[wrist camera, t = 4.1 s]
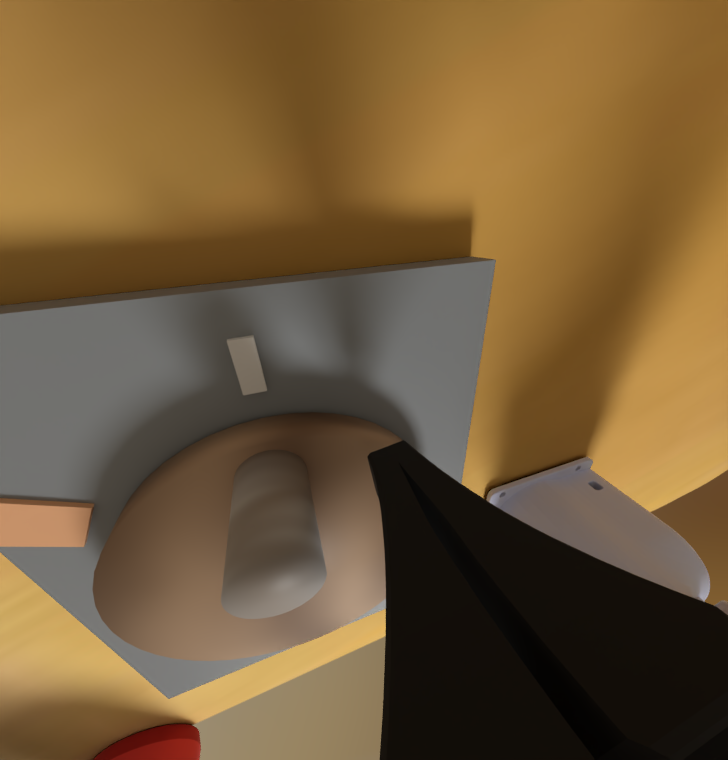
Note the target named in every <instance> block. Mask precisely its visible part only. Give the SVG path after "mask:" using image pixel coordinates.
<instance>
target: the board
mask: <svg viewBox="0 0 728 760" xmlns="http://www.w3.org/2000/svg"><path fill="white" fill-rule="evenodd" d="M495 262H496V260H494V259H486V258H478V257H463V258H453V259H443V260H434V261H424V262H414V263H405V264H395V265H386V266H376V267H366V268H357V269H347V270H337V271H328V272H318V273H309V274H299V275H289V276H280V277H270V278H260V279H251V280H241V281H232V282H222V283H212V284H203V285H193V286H183V287H174V288H164V289H155V290H145V291H135V292H126V293H116V294H106V295H97V296H87V297H78V298H68V299H58V300H49V301H39V302H29V303H20V304H10V305H1V306H0V552H1V553H2V554H3V555H4V556H5V557H6V558H7V559H9V560H10V561H11V562H12V563H13V564H14V565H15V566H17V567H18V568H19V569H20V570H21V571H22V572H24V573H25V574H26V575H27V576H28V577H29V578H30V579H32V580H33V581H34V582H35V583H36V584H37V585H38V586H40V587H41V588H42V589H43V590H44V591H45V592H46V593H48V594H49V595H50V596H51V597H52V598H53V599H55V600H56V601H57V602H58V603H59V604H60V605H61V606H63V607H64V608H65V609H66V610H67V611H68V612H69V613H71V614H72V615H73V616H74V617H75V618H76V619H77V620H79V621H80V622H81V623H82V624H83V625H84V626H86V627H87V628H88V629H89V630H90V631H91V632H92V633H94V634H95V635H96V636H97V637H98V638H99V639H100V640H102V641H103V642H104V643H105V644H106V645H107V646H108V647H110V648H111V649H112V650H113V651H114V652H115V653H117V654H118V655H119V656H120V657H121V658H122V659H123V660H125V661H126V662H127V663H128V664H129V665H130V666H131V667H133V668H134V669H135V670H136V671H137V672H138V673H140V674H141V675H142V676H143V677H144V678H145V679H146V680H148V681H149V682H150V683H151V684H152V685H153V686H154V687H156V688H157V689H158V690H159V691H160V692H161V693H162V694H164V695H165V696H166V697H167V698H168V699H170V698H172V697H175V696H177V695H179V694H182V693H184V692H187V691H189V690H191V689H194V688H196V687H199V686H201V685H203V684H206V683H208V682H211V681H213V680H215V679H218V678H220V677H223V676H225V675H227V674H230V673H232V672H235V671H237V670H239V669H242V668H244V667H247V666H249V665H251V664H254V663H256V662H259V661H261V660H263V659H266V658H268V657H271V656H273V655H275V654H278V653H280V652H283V651H285V650H287V649H290V648H287V649H284V650H280V651H276V652H273V653H269V654H264V655H259V656H254V657H248V658H240V659H233V660H219V661H192V660H182V659H174V658H169V657H164V656H159V655H155V654H152V653H149V652H146V651H143V650H140V649H138V648H136V647H134V646H132V645H130V644H129V643H127V642H125V641H123V640H122V639H121V638H119V637H118V636H117V635H116V634H114V633H113V632H112V631H111V630H110V629H109V628H108V626H107V625H106V624H105V623H104V622H103V621H102V619H101V617H100V615H99V613H98V611H97V609H96V607H95V602H94V596H93V591H92V589H93V578H94V571H95V568H96V565H97V562H98V560H99V557H100V554H101V552H102V550H103V548H104V546H105V544H106V542H107V540H108V538H109V536H110V534H111V532H112V529H113V527H114V525H115V523H116V521H117V519H118V517H119V515H120V513H121V512H122V510H123V508H124V507H125V505H126V503H127V502H128V500H129V498H130V497H131V495H132V494H133V493H134V492H135V491H136V489H137V488H138V487H139V486H140V485H141V483H142V482H143V481H144V480H145V479H146V478H147V477H148V476H149V475H150V474H151V473H153V472H154V471H155V470H156V469H157V468H158V467H159V466H161V465H162V464H163V463H164V462H165V461H167V460H168V459H170V458H171V457H173V456H174V455H176V454H177V453H179V452H180V451H182V450H183V449H185V448H186V447H188V446H190V445H192V444H194V443H196V442H198V441H200V440H201V439H203V438H205V437H207V436H209V435H211V434H214V433H217V432H219V431H222V430H224V429H227V428H229V427H232V426H235V425H238V424H241V423H245V422H249V421H252V420H256V419H260V418H264V417H270V416H277V415H283V414H291V413H308V412H317V413H335V414H341V415H347V416H352V417H357V418H360V419H363V420H366V421H370V422H373V423H375V424H377V425H379V426H381V427H383V428H386V429H388V430H390V431H391V432H392V433H394V434H395V435H397V436H398V437H399V438H401V439H402V440H404V441H406V442H407V443H409V444H410V445H411V446H412V447H413V448H414V449H416V450H417V451H418V452H419V453H420V454H422V455H423V456H424V457H425V458H427V459H428V460H429V461H430V462H432V463H433V464H434V465H436V466H437V467H438V468H440V469H441V470H442V471H444V472H445V473H446V474H448V475H449V476H451V477H452V478H453V479H455V480H456V481H458V482H459V483H460V484H461V482H462V475H463V469H464V462H465V456H466V449H467V443H468V437H469V430H470V424H471V417H472V411H473V404H474V398H475V391H476V385H477V378H478V372H479V365H480V359H481V352H482V346H483V339H484V333H485V327H486V320H487V314H488V307H489V301H490V294H491V288H492V281H493V275H494V268H495ZM383 609H386V599H385V600H383V601H382V602H381V603H379V604H378V605H377V606H375V607H374V608H372V609H371V610H369V611H368V612H366V613H365V614H363V615H362V616H360V617H358V618H357V619H355V620H353V621H352V622H355V621H357V620H359V619H362V618H364V617H367V616H369V615H371V614H374V613H376V612H379V611H381V610H383ZM352 622H350V623H352ZM350 623H348V624H350ZM346 625H347V624H346ZM344 626H345V625H344ZM342 627H343V626H342ZM294 647H295V646H294ZM291 648H292V647H291Z"/></svg>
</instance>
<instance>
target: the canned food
mask: <svg viewBox="0 0 728 760" xmlns="http://www.w3.org/2000/svg"><path fill="white" fill-rule="evenodd" d="M199 736H200V735H199V731H198V729H197V728H196V727H194V726H192V725H189V724H169V725H163V726H158V727H154V728H151V729H147V730H144V731H141V732H138V733H136V734H133V735H131V736H128V737H126V738H124V739H122V740H120V741H118V742H116V743H114V744H113V745H111V746H109V747H108V748H106V749H105V750H103V751H102V752H101V753H99V754H98V755H97V756H96V757H95V758H94V759H93V760H199V758H200V750H201V745H200V737H199Z"/></svg>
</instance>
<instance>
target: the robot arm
mask: <svg viewBox="0 0 728 760" xmlns="http://www.w3.org/2000/svg"><path fill="white" fill-rule="evenodd" d="M367 458H368V462H369V466H370V470H371V474H372V478H373V482H374V486H375V490H376V493H377V496H378V498H379V502H380V509H381V516H382V527H383V538H384V553H385V577H386V646H385V673H384V675H385V676H384V700H383V720H382V734H381V749H380V760H728V602H727V601H724V600H723V601H720V602H719V603H717V604H716V605H711V604H708V603H706V602H704V601H705V599H706V598H707V596H708V594H709V591H710V579H709V575H708V571H707V569H706V567H705V565H704V564H703V562H702V560H701V559H700V558H699V556H698V555H697V553H696V552H695V551H694V549H693V548H692V547H691V546H690V545H689V544H688V543H687V542H686V540H685V539H684V538H683V537H681V536H680V535H679V534H678V533H677V532H676V531H675V530H673V529H672V528H671V527H669V526H668V525H667V524H665V523H664V522H662V521H661V520H660V519H658V518H657V517H656V516H654V515H653V514H652V513H650V512H649V511H647V510H646V509H645V508H643V507H642V506H641V505H639V504H638V503H636V502H635V501H634V500H632V499H631V498H629V497H628V496H627V495H625V494H624V493H623V492H621V491H620V490H618V489H617V488H616V487H614V486H613V485H612V484H610V483H609V482H607V481H606V480H605V479H603V478H602V477H601V476H599V475H598V474H596V473H595V472H594V471H592V470H591V469H590V468H591V465H592V463H593V461H592V460H591V459H590V458H589V457H584V458H581V459H578V460H575V461H573V462H570V463H567V464H564V465H561V466H558V467H555V468H552V469H549V470H546V471H543V472H540V473H537V474H534V475H531V476H528V477H526V478H523V479H520V480H517V481H514V482H511V483H508V484H505V485H502V486H499V487H496V488H493V489H492V490H490V491H489V492H488V495H487V499H486V500H485V499H483V498H482V497H480V496H479V495H477V494H475V493H474V492H472V491H471V490H469V489H468V488H466V487H465V486H463V485H462V484H460V483H459V482H458V481H456V480H455V479H453V478H452V477H451V476H449V475H448V474H446V473H445V472H444V471H442V470H441V469H440V468H438V467H437V466H436V465H434V464H433V463H432V462H430V461H429V460H428V459H427V458H425V457H424V456H423V455H422V454H420V453H419V452H418V451H417V450H416V449H414V448H413V447H412V446H411V445H410V444H409V443H407V442H406V441H404V440H402V441H400V442H397V443H395V444H392V445H389V446H387V447H384V448H382V449H379V450H376V451H374V452H371V453H369V455H368V456H367Z"/></svg>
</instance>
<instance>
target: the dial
mask: <svg viewBox="0 0 728 760" xmlns="http://www.w3.org/2000/svg"><path fill="white" fill-rule="evenodd" d="M400 441H402V439H401V438H399V437H398V436H397V435H395V434H394V433H392V432H391V431H390V430H388V429H386V428H383V427H381V426H379V425H377V424H375V423H373V422H370V421H366V420H363V419H360V418H357V417H352V416H347V415H341V414H335V413H317V412H308V413H291V414H283V415H277V416H270V417H264V418H260V419H256V420H252V421H249V422H245V423H241V424H238V425H235V426H232V427H229V428H227V429H224V430H222V431H219V432H217V433H214V434H211V435H209V436H207V437H205V438H203V439H201V440H200V441H198V442H196V443H194V444H192V445H190V446H188V447H186V448H185V449H183V450H182V451H180V452H179V453H177V454H176V455H174V456H173V457H171V458H170V459H168V460H167V461H165V462H164V463H163V464H162V465H161V466H159V467H158V468H157V469H156V470H155V471H154V472H153V473H151V474H150V475H149V476H148V477H147V478H146V479H145V480H144V481H143V482H142V483H141V485H140V486H139V487H138V488H137V489H136V491H135V492H134V493H133V494H132V495H131V497H130V498H129V500H128V502H127V503H126V505H125V507H124V508H123V510H122V512H121V513H120V515H119V517H118V519H117V521H116V523H115V525H114V527H113V529H112V532H111V534H110V536H109V538H108V540H107V542H106V544H105V546H104V548H103V550H102V552H101V554H100V557H99V560H98V562H97V565H96V568H95V571H94V578H93V589H92V591H93V596H94V602H95V607H96V609H97V611H98V613H99V615H100V617H101V619H102V621H103V622H104V623H105V624H106V625H107V626H108V628H109V629H110V630H111V631H112V632H113V633H114V634H116V635H117V636H118V637H119V638H121V639H122V640H123V641H125V642H127V643H129V644H130V645H132V646H134V647H136V648H138V649H140V650H143V651H146V652H149V653H152V654H155V655H159V656H164V657H169V658H174V659H182V660H192V661H219V660H233V659H240V658H248V657H254V656H259V655H264V654H269V653H273V652H276V651H280V650H284V649H287V648H291V647H294V646H297V645H300V644H303V643H306V642H308V641H311V640H313V639H316V638H319V637H321V636H323V635H325V634H328V633H330V632H332V631H334V630H336V629H338V628H340V627H342V626H344V625H346V624H348V623H350V622H352V621H353V620H355V619H357V618H358V617H360V616H362V615H363V614H365V613H366V612H368V611H369V610H371V609H372V608H374V607H375V606H377V605H378V604H379V603H381V602H382V601H383V600H385V599H386V577H385V553H384V538H383V527H382V516H381V509H380V502H379V498H378V496H377V493H376V490H375V486H374V482H373V478H372V474H371V470H370V466H369V462H368V458H367V456H368V455H369V453H371V452H374V451H376V450H379V449H382V448H384V447H387V446H389V445H392V444H395V443H397V442H400Z"/></svg>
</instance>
